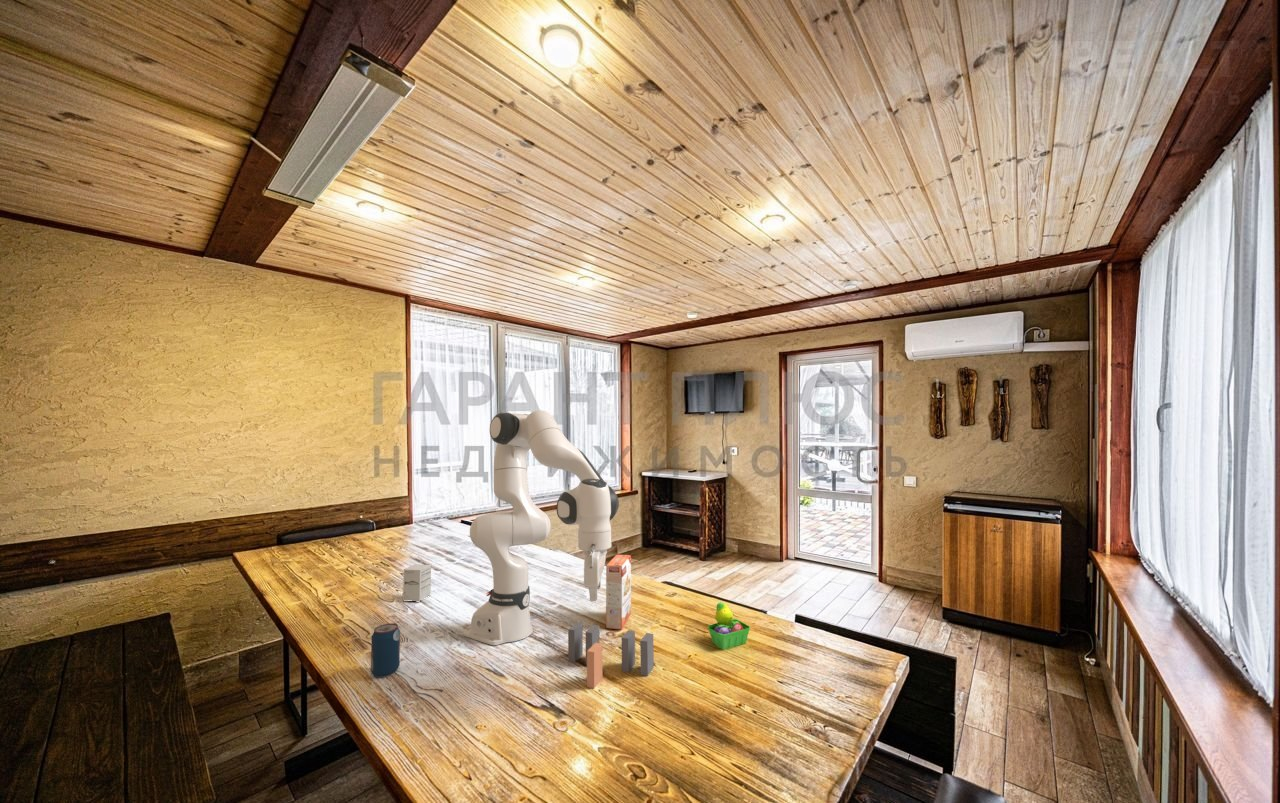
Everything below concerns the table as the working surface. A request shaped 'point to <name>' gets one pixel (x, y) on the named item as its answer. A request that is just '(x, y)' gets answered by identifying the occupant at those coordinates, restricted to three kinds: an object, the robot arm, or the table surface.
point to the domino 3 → (594, 665)
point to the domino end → (647, 654)
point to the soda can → (385, 650)
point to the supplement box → (417, 582)
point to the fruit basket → (727, 629)
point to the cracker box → (618, 591)
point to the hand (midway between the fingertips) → (595, 594)
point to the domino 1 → (575, 642)
